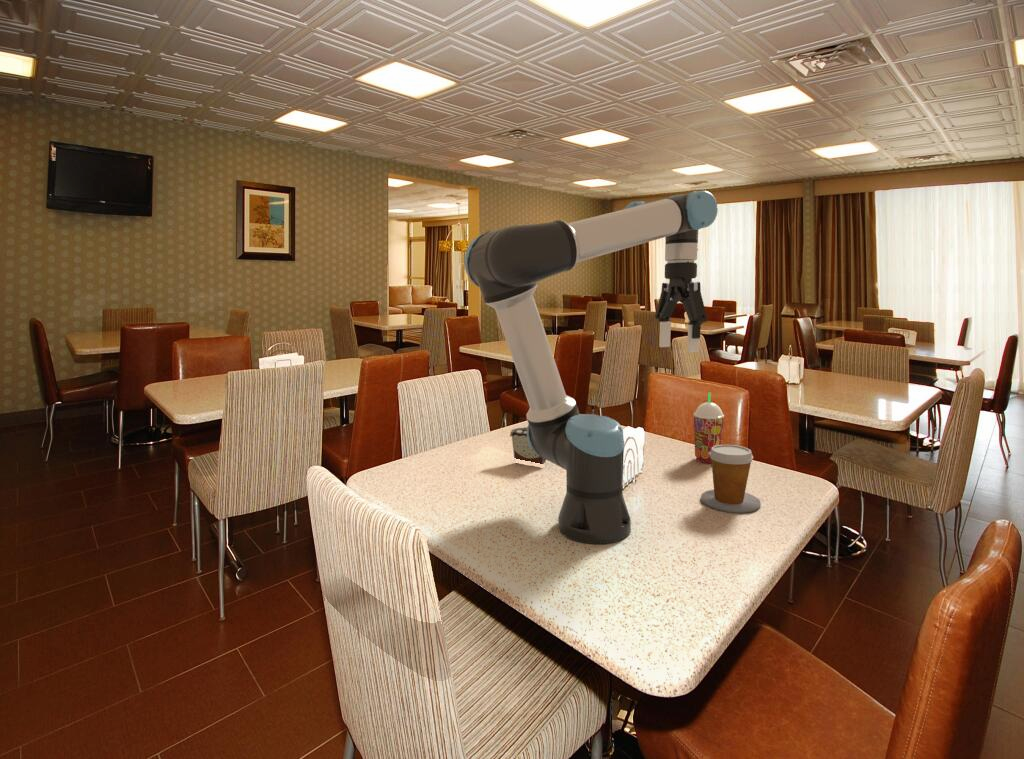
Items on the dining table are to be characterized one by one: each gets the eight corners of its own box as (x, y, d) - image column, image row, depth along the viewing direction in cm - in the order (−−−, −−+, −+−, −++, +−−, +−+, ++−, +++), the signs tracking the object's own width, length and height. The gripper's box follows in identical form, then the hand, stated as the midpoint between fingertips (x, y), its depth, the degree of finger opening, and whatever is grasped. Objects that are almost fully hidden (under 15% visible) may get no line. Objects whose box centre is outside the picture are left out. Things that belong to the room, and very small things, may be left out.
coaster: (722, 515, 123) (722, 512, 123) (690, 495, 136) (690, 492, 136) (773, 509, 126) (773, 506, 126) (737, 490, 139) (737, 487, 138)
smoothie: (686, 457, 165) (688, 391, 162) (710, 455, 168) (712, 389, 165) (703, 466, 157) (706, 396, 154) (728, 463, 160) (731, 394, 157)
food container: (557, 463, 162) (557, 429, 161) (547, 469, 157) (547, 434, 156) (521, 457, 169) (520, 425, 167) (510, 462, 164) (509, 429, 162)
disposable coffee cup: (746, 493, 134) (748, 444, 132) (755, 508, 125) (757, 456, 123) (704, 490, 136) (706, 443, 134) (710, 505, 127) (712, 454, 125)
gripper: (725, 259, 124) (721, 354, 127) (669, 264, 148) (666, 344, 151) (695, 259, 122) (692, 355, 126) (643, 264, 146) (641, 345, 150)
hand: (678, 349), depth 138 cm, fingers open, 13 cm apart
